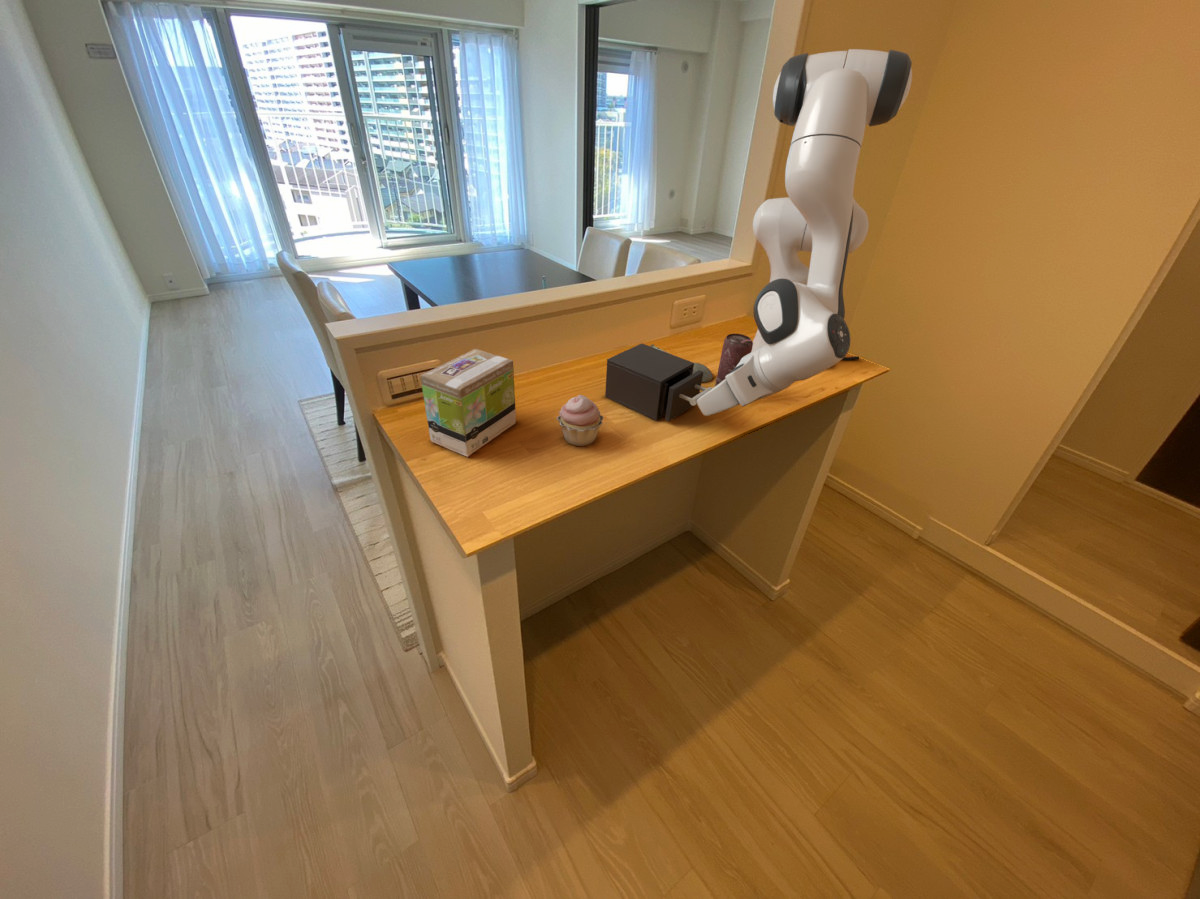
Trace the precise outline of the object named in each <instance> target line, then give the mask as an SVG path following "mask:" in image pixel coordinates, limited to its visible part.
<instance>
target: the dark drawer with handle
mask: <svg viewBox="0 0 1200 899" xmlns="http://www.w3.org/2000/svg"><path fill="white" fill-rule="evenodd" d="M691 373H692V370H691V369H688V370H686V371H684V372H682V373H681V374H679V375H677V376H675V377H674V378H672V379H670V380H668V381H667V382H665V383H663V386H662V394H661V402H660V410H659V414H661V415H663V414H664V413H666V415H665V416H664V421H667V422H672V421H673V420H674V419H676V418H677V417H678V416H680V415H681V414H683V413H685V412H686V411H688V410H689V409H691V408H693V407H694V406H696V405H697V399H698V398H700V397H701V396H702V395H704V394H705V393H707V392H708V391H709V390H711V389H712V388H713V387H711V386H708V387H707V388H706V387H704V386H702V383H703V382H702V378H703V371H700V370H698V371H697V372H695V373H693V374H692V375H691Z"/></svg>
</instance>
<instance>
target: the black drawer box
mask: <svg viewBox="0 0 1200 899" xmlns="http://www.w3.org/2000/svg"><path fill="white" fill-rule="evenodd" d="M661 350H662V349H661ZM661 350H658V349H656V348H653V347H650V345H647V344H645V343H639V344H637V345H635V346H632V347H631V348H629V349H626V350H624V351H621V352H620V353H617V354H615V355H613V356H611V357H609V358H607V359H606V373H605V374H606V376H605V393H604V394H605V395H604V398H606V399H608V400H610V401H612V402H615V403H616V404H619V405H621V406H623V407H625V408H627V409H629V410H631V411H633V412H636V413H638V414H640V415H642V416H644V417H646V418H648V419H650V420H653V421H655V422H658V421H659V420H660V419H662V418H663V417H665V416H666V413H664V414H663V415H661V414H659V410H660V402H661V394H662V386H663V383H665V382H667V381H668V380H670V379H672V378H674V377H675V376H677V375H679V374H681V373H682V372H684V371H686V370H688V369H691V370H692V373H693V367H694V363H695V362H693V361H690V360H687V359H685V358H682V357H679V356H677V355H674V354H672V353H670V352H668V353H666V352H667V351H665V350H663V351H661ZM664 351H665V352H664ZM669 353H670V354H669ZM692 373H691V375H692Z"/></svg>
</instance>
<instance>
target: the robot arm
mask: <svg viewBox="0 0 1200 899" xmlns="http://www.w3.org/2000/svg"><path fill="white" fill-rule="evenodd" d="M912 62H913V61H912V59H911V57H910V55H909V54H908V53H906V52H903V51H900V50H894V49H889V51H884V50H883V51H882V50H875V49H860V48H849V49H848V50H835V51H826V52H819V53H813V54H809V53H808V52H806V53H802V54H796V55H794V56H791V57H790V58H789V59H788V60H787V61H786V62H784V64H783V65H782V67H781V70H780V72H779V74H778V76H777V78H776V80H775V83H774V86H773V90H772V91H773V92H772V106H773V110H774V117H775V118H776V120H777V121H778V122H779V123H781V124H784V125H786V126H790V127H794V126H795V127H794V130H793V133H792V138H791V141H790V146H789V150H788V154H787V159H786V163H785V172H784V184H785V185H784V187H785V191H786V194H787V197H786V196H785V197H776V198H775V197H774V198H767V199H766V200H765V201H763V202H762V203H761V205H759V207H758V208H757V210H756V211H755V213H754V216H753V220H752V233H753V235H754V237H755V239H756V241H757V242H758V243H759V244H760V245H761V247H762V248H763V249H764V251H765V253H766V256H767V258H768V261H769V265H770V266H769V268H770V275H769V276H770V277H769V283H767V284H766V285H765V286H764V287H763V288H762V289H761V290H760V291H759V293H758V294H757V296H756V299H755V300H754V305H753V312H752V313H753V319H754V322H755V324H756V327H757V330H756V333H755V335H754V338H753V339H752V341H753V347H752V351H751V353H749V354H747V355H746V356H744V357H743V358H742V359H741V360H740V362H739V363H738V365H737V366H736V367H735V368H734V369H733V370H732V371H731V372H730V373H729V374H728V375H726V377H725V378H726V379H725V380H723V381H722V382H721V383H719V384H718V385H717V386H715V385H714V387H711V388H712V389H711V390H709V391H708V392H707V393H705V394H704V395H702V396H701V397H700V398H698V399H697V404H696V405H697V407H698V409H699V410H700V412H701V413H702V415H703V416H705V417H710V416H713V415H716V414H718V413H721V412H724V411H727V410H730V409H733V408H735V407H737V406H739V405H740V406H741V407H745V406H748V405H750V404H752V403H754V402H756V401H758V400H761V399H765V398H768V397H770V396H772V395H775V394H778V393H780V392H781V391H783V390H786V389H789V387H790V386H792V385H793V384H794V383H796V382H799V381H805V380H808V379H810V378H812V377H814V376H816V375H819V374H821V373H822V372H824V371H826V370H828V369H830V368H832V367H833V366H835V365H836V364H838V363H839V362H840V361H842V360H843V361H858V360H860V356H848V357H847V354H848V353H849V350H850V348H851V333H850V332H851V331H850V329H849V326H848V324H847V323H846V321H845V316H846V308H845V301H844V281H845V276H846V270H847V263H848V257H849V255H850V254H852V253H854V252H855V251H856V250H857V249H858V248H860V246H862V244H863V243H864V242H865V239H866V238H867V235H868V232H869V227H870V222H869V217H868V216H869V215H868V214H867V212H866V211H865V209H864V208H862V206H860V205H859V203H858V202H857V201H856V199H855V197H854V190H855V189H854V188H855V183H856V175H857V169H858V165H859V164H858V163H859V158H860V154H861V151H862V146H863V141H864V137H865V131H866V126H867V125H868V127H875V126H876V127H877V126H880V125H884V124H887V123H889V122H890V121H891V120H892V119H894V118H896V116H897V115H898V112H899V111H900V109H901V108H902V107H903V105H904V103H905V102H906V100H907V98H908V96H909V93H910V90H911V87H912V86H911V85H912V82H913V69H912V64H913V63H912ZM799 252H806V253H807V252H808V253H810V261H809V267H808V266H807V265H806V264H804V263H803V262H802V261H801V259H800V256H799Z"/></svg>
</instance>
